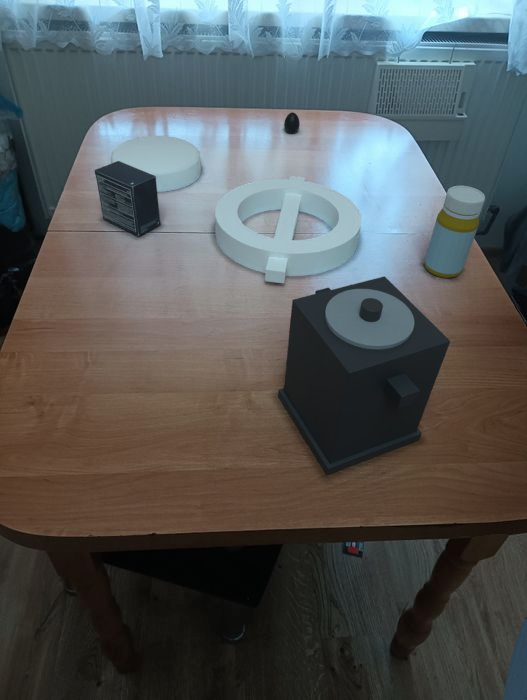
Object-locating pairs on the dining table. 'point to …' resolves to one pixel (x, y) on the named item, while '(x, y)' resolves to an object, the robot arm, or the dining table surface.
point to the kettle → (359, 371)
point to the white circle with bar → (287, 227)
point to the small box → (128, 197)
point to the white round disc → (162, 160)
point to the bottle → (454, 231)
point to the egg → (291, 123)
